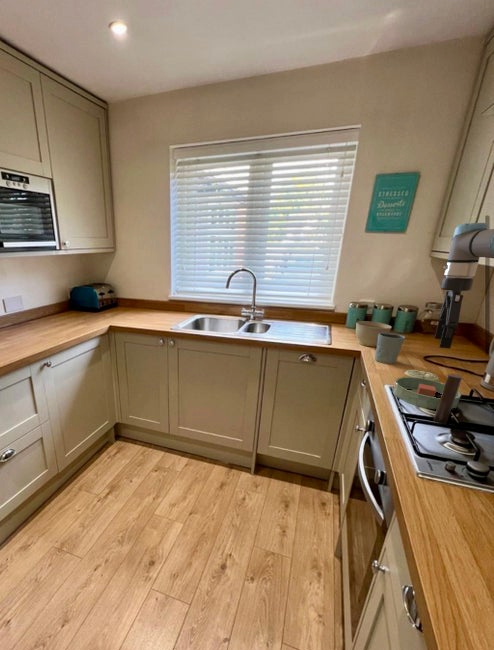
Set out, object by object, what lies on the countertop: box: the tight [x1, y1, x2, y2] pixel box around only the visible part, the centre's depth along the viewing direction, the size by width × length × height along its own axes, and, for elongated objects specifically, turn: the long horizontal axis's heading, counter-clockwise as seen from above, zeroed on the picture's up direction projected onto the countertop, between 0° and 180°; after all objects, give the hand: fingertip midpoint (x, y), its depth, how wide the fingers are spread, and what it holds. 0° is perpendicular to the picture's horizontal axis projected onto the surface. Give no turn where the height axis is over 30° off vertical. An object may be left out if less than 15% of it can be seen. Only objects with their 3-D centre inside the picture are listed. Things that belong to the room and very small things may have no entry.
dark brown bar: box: [432, 373, 463, 425], centre depth 95 cm, size 3×3×15 cm
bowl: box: [392, 376, 462, 411], centre depth 112 cm, size 18×18×4 cm
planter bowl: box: [355, 320, 392, 348], centre depth 174 cm, size 16×16×11 cm
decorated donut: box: [403, 369, 440, 382], centre depth 127 cm, size 10×11×4 cm
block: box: [417, 384, 436, 397], centre depth 111 cm, size 4×4×4 cm
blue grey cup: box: [374, 332, 406, 365], centre depth 149 cm, size 10×10×12 cm
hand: (441, 343), depth 110 cm, fingers open, 13 cm apart
